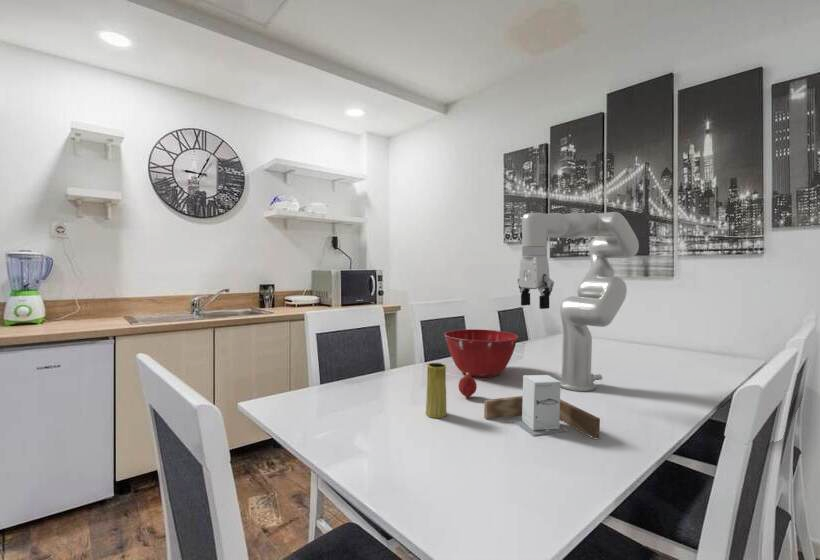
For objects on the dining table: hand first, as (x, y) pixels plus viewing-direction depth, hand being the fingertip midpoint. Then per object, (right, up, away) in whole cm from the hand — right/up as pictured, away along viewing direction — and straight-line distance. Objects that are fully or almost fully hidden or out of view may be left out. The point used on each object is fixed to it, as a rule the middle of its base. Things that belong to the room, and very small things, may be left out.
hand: (534, 306), depth 131 cm
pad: (-5, -30, -21) cm, 37 cm away
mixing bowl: (-12, -28, +32) cm, 45 cm away
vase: (-32, -30, -13) cm, 46 cm away
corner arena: (-6, -30, -22) cm, 38 cm away
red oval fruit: (-21, -30, +2) cm, 36 cm away
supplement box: (-5, -30, -21) cm, 37 cm away
